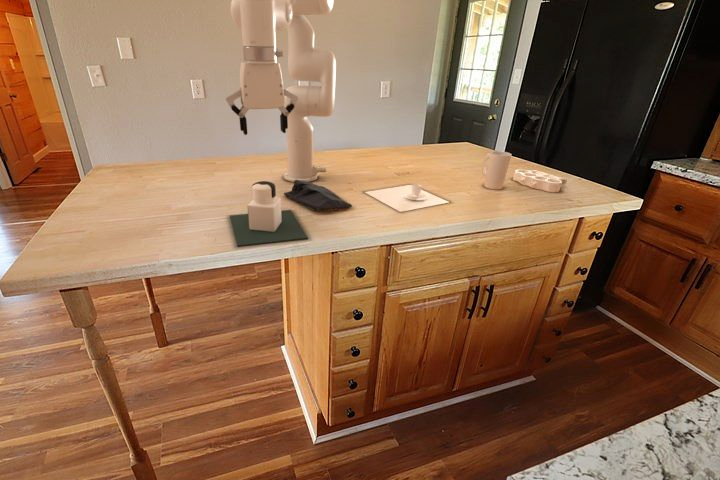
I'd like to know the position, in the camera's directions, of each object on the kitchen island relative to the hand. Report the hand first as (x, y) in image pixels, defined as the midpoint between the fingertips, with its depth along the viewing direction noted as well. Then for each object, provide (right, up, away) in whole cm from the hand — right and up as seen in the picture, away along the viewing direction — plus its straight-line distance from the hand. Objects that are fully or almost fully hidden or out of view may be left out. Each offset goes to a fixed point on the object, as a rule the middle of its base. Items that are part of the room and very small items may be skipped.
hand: (264, 132), depth 99 cm
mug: (+76, -4, +45) cm, 88 cm away
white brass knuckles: (+95, -3, +47) cm, 106 cm away
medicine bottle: (-1, -23, +8) cm, 24 cm away
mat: (-1, -23, +9) cm, 24 cm away
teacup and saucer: (+43, -11, +32) cm, 54 cm away
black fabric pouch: (+13, -13, +27) cm, 33 cm away
